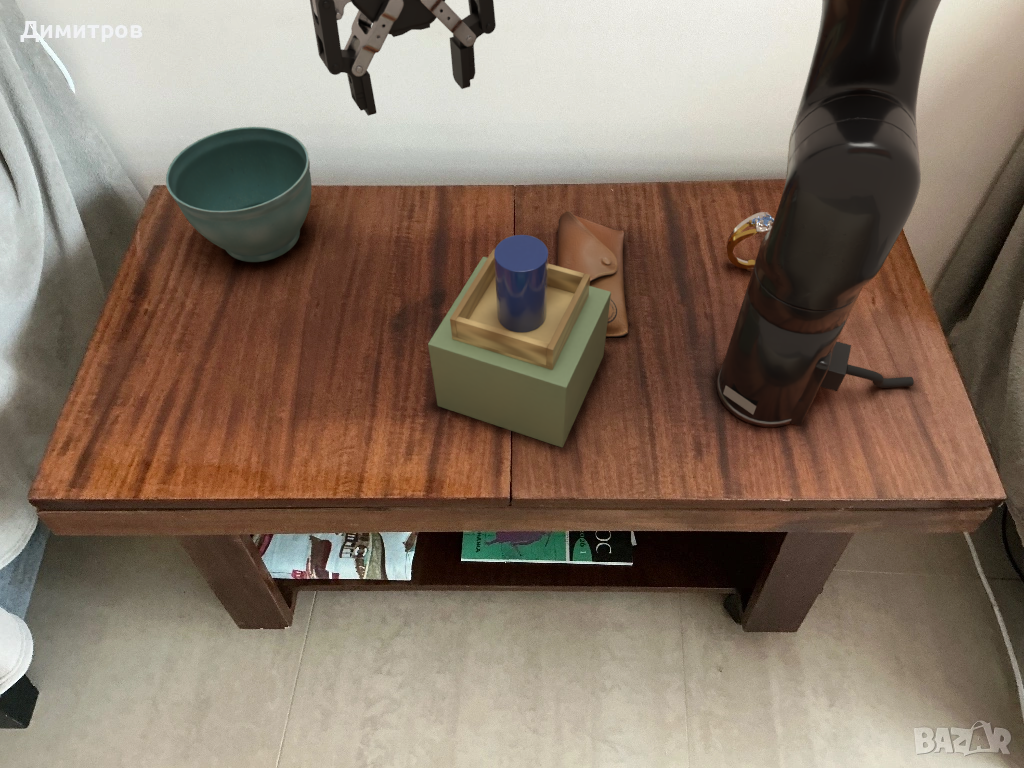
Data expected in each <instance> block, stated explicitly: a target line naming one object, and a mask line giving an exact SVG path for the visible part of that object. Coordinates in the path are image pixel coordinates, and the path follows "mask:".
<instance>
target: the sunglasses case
mask: <svg viewBox="0 0 1024 768" xmlns="http://www.w3.org/2000/svg"><path fill="white" fill-rule="evenodd" d="M557 226H558V227H557V248H556V249H557V257H556V258H557V259H556V260H557V262H556V263H557V264H556V266H559V267H562V268H566V269H570V270H573V271H577V272H581V273H584V274H588V275H590V285H589V286H592V287H595V288H599V289H602V290H606V291H610V292H611V297H610V306H609V314H608V322H607V330H606V338H619V337H625V336H626V335H628V334H629V321H628V315H627V314H628V311H627V306H626V297H625V296H626V295H625V281H624V280H625V279H624V240H625V230H623V229H614V228H611V227H608V226H605V225H602V224H599V223H597V222H594V221H592V220H588V219H585V218H582V217H580V216H577V215H574V213H573V212H572V211H570V210H569V211H568V210H567V211H564V212H563V213H562V214H561V215H560V217H559V218H558V225H557Z"/></svg>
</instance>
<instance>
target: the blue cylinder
mask: <svg viewBox="0 0 1024 768" xmlns="http://www.w3.org/2000/svg"><path fill="white" fill-rule="evenodd" d="M494 249H495V251H494V260H495V282H496V303H497V318H498V320H499V322H500V324H501V325H502V326H503V327H505V328H506V329H508V330H510V331H513V332H519V333H524V332H530V331H533V330H535V329H537V328H539V327H540V326H541V325H542V324H543V323H544V321H545V319H546V315H547V281H548V264H549V249H548V246H546V244H545V243H544V242H543V241H542V240H541V239H539V238H537V237H535V236H532V235H527V234H516V235H510V236H507V237H506V238H504V239H502V240H501V241H500V242H499V243H498V244H497V245H496V247H495V248H494Z"/></svg>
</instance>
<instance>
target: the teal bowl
mask: <svg viewBox="0 0 1024 768" xmlns="http://www.w3.org/2000/svg"><path fill="white" fill-rule="evenodd" d="M310 164H311V161H310V157H309V152H308V150H307V148H306V146H305V145H304V143H303V142H302V141H301V140H299V138H297V137H296V136H294V135H292V134H291V133H288V132H286V131H285V130H281V129H276V128H272V127H265V126H241V127H233V128H229V129H224V130H220V131H217V132H214V133H211V134H209V135H206V136H204V137H202V138H200V139H197V140H196V141H194V142H192V143H191V144H189V145H187V146H186V147H185V148H184V149H182V150H181V151H180V152H179V153H178V154H177V155H176V156H175V157H174V158H173V159H172V161H171V163H170V164H169V166H168V169H167V171H166V175H165V185H166V189H167V190H168V192H169V194H170V196H171V197H172V199H173V200H174V202H175V203H176V204H177V206H178V207H179V209H180V211H181V213H182V214H183V216H184V217H185V219H186V220H187V221H188V223H189V224H190V225H191V226H192V227H193V228H194V229H195V230H196V231H197V232H198V233H199V234H200V235H201V236H203V237H204V239H206V240H208V241H209V242H210V243H212V244H213V245H215V246H217V247H219V248H220V249H223V250H225V252H226V254H228V255H229V256H231V257H232V258H234V259H236V260H238V261H242V262H246V263H260V262H261V263H262V262H267V261H272V260H274V259H277V258H278V257H281V256H283V255H285V254H287V252H289V251H291V249H293V247H294V246H295V245H296V244H297V242H298V240H299V238H300V236H301V235H300V234H301V228H302V227H303V225H304V223H305V222H306V219H307V216H308V213H309V210H310V206H311V202H312V201H311V200H312V192H313V190H312V189H313V188H312V187H313V185H312V176H311V175H312V174H311V170H310V169H311V168H310V167H311V165H310Z"/></svg>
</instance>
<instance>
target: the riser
mask: <svg viewBox="0 0 1024 768" xmlns="http://www.w3.org/2000/svg"><path fill="white" fill-rule="evenodd" d="M487 258H488V256H482V257H481V259H480V260H479V262H478V264H477V266H476V267H475V268H474V270H473V272H472V273H471V275H470V276H469V278H468V280H467V281H466V283H465V285H464V286H463V287H462V289H461V291H460V292H459V294H458V295H457V297H456V299H455V300H454V302H453V303H452V305H451V307H450V309H448V312H447V313H446V315H445V316H444V317H443V319H442V321H441V322H440V323H439V326H438V327H437V329H436V330H435V332H434V333H433V335H432V336H431V338H430V340H429V342H428V343H427V348H428V353H429V359H430V367H431V372H432V379H433V386H434V392H435V398H436V405H437V407H439V408H442V409H446V410H448V411H452V412H455V413H458V414H460V415H463V416H467V417H469V418H472V419H474V420H479V421H481V422H484V423H487V424H489V425H493V426H496V427H500V428H502V429H505V430H509V431H511V432H514V433H517V434H520V435H523V436H525V437H529V438H531V439H535V440H537V441H541V442H544V443H546V444H550V445H553V446H555V447H559V448H564V446H565V444H566V441H567V439H568V436H569V435H570V432H571V430H572V428H573V425H574V423H575V421H576V419H577V416H578V415H579V413H580V411H581V407H582V405H583V403H584V401H585V398H586V396H587V395H588V392H589V390H590V388H591V385H592V382H593V380H594V379H595V377H596V375H597V371H598V370H599V367H600V365H601V363H602V360H603V359H604V354H605V347H606V340H607V339H606V338H607V337H606V330H607V322H608V314H609V306H610V297H611V292H610V291H606V290H602V289H599V288H595V287H592V286H589V296H588V298H587V300H586V302H585V304H584V306H583V308H582V310H581V312H580V314H579V317H578V319H577V321H576V323H575V325H574V327H573V329H572V331H571V333H570V335H569V337H568V339H567V341H566V343H565V345H564V347H563V349H562V351H561V353H560V355H559V357H558V359H557V361H556V364H555V366H554V368H553V370H550V369H547V368H544V367H541V366H537V365H534V364H531V363H528V362H525V361H521V360H518V359H515V358H512V357H508V356H505V355H502V354H499V353H495V352H492V351H489V350H486V349H483V348H479V347H476V346H473V345H470V344H466V343H463V342H460V341H457V340H453V339H452V332H451V324H450V318H451V316H452V315H453V313H454V311H455V310H456V308H457V307H458V305H459V303H460V302H461V300H462V298H463V297H464V295H465V294H466V292H467V290H468V289H469V287H470V286H471V284H472V282H473V281H474V279H475V278H476V276H477V274H478V273H479V271H480V270H481V268H482V266H483V265H484V263H485V262H486V260H487Z"/></svg>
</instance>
